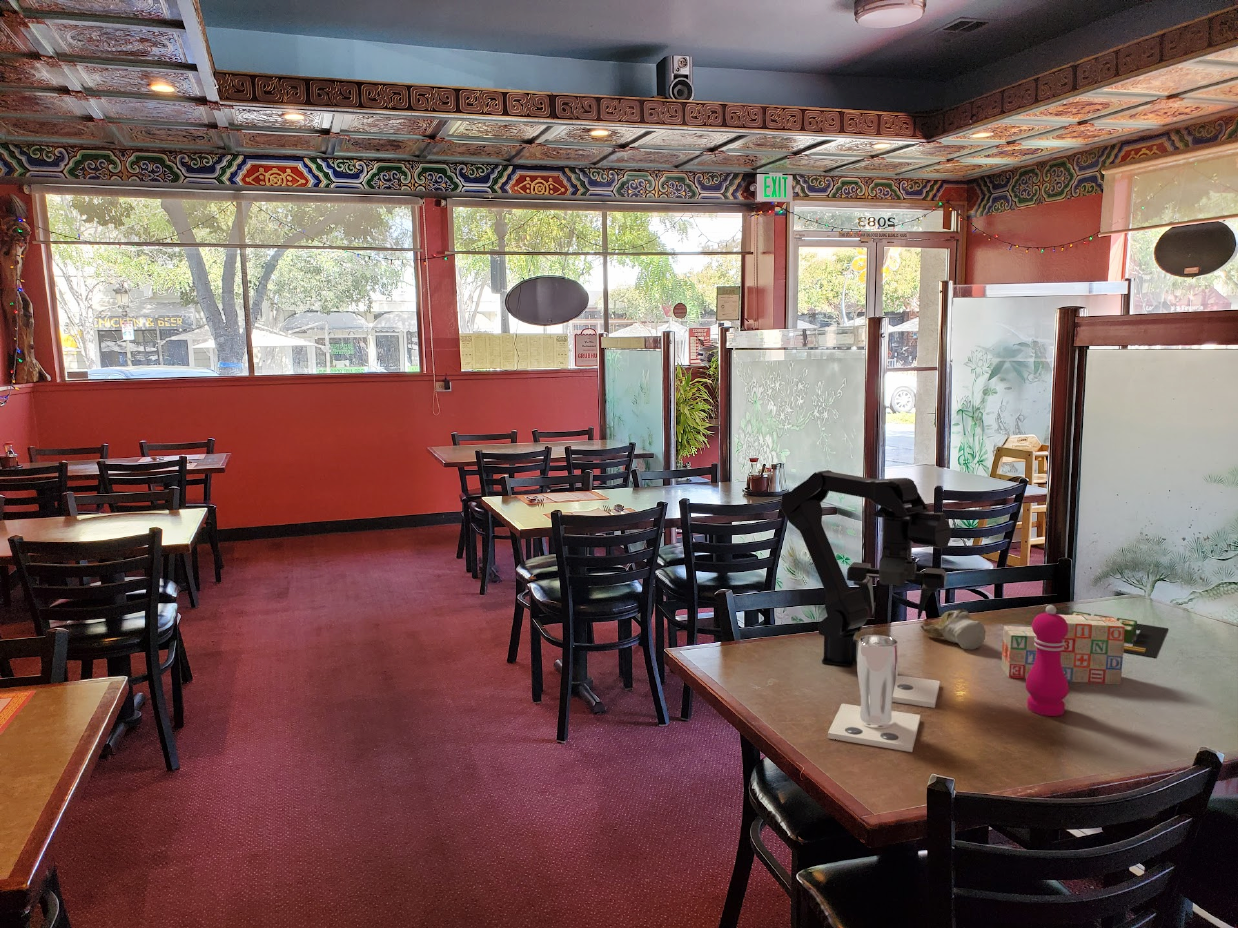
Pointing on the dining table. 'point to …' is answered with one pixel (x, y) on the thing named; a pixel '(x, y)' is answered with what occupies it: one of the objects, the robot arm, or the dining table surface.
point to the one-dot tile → (916, 691)
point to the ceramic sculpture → (958, 629)
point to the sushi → (1145, 641)
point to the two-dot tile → (892, 737)
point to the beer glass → (877, 679)
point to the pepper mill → (1048, 665)
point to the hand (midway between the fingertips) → (895, 616)
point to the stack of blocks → (1071, 650)
